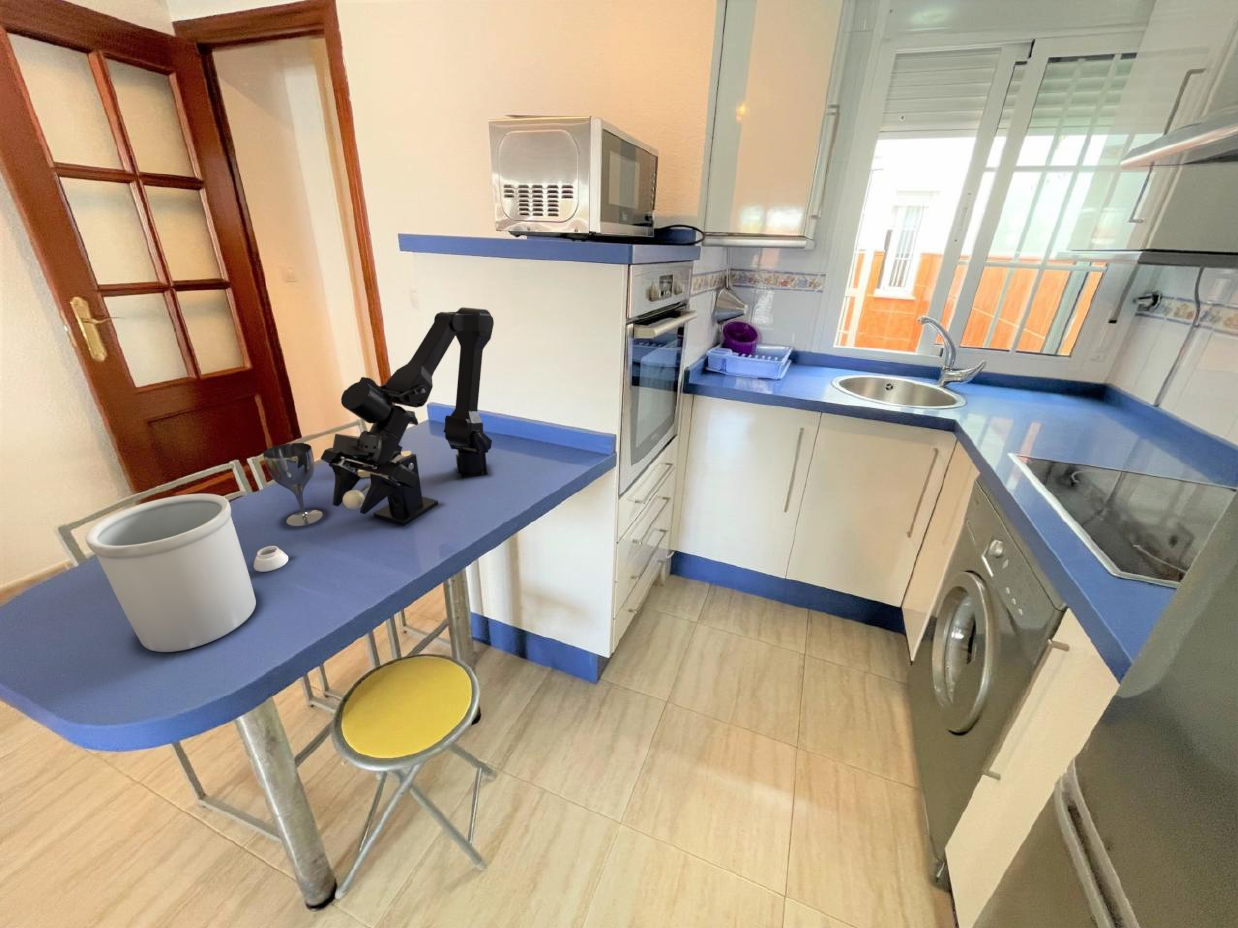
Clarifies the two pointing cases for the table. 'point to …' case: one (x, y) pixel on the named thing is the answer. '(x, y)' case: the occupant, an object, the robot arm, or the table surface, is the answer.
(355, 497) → the lever
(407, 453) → the button box
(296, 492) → the wine glass
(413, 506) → the bracket
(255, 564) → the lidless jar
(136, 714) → the table surface
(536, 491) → the table surface
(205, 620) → the utensil holder
